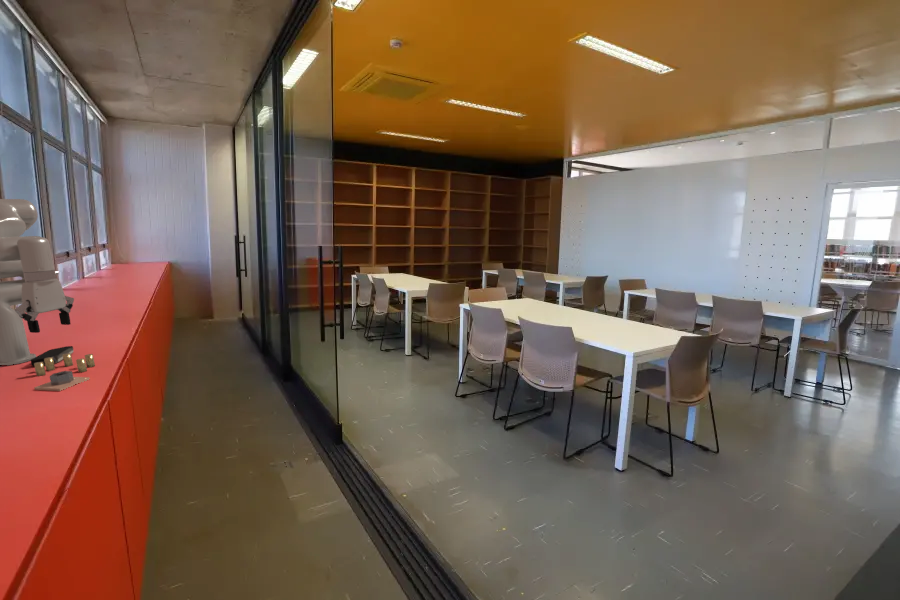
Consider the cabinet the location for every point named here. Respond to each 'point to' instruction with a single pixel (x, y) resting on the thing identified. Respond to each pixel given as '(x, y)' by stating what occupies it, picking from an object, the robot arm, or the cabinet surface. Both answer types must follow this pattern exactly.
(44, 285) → the robot arm
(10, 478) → the cabinet surface
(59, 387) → the tan tile
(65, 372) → the steel nut
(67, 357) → the brass standoffs
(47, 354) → the black sponge
